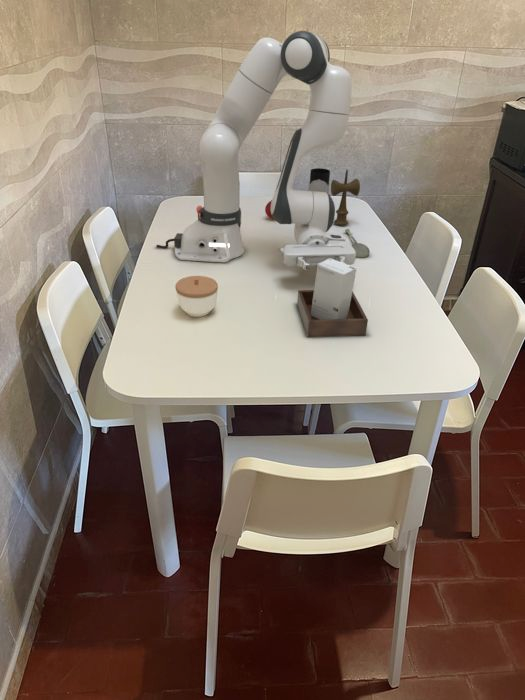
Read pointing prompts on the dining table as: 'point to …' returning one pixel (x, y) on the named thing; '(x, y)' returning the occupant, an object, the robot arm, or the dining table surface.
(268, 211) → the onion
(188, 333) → the dining table surface
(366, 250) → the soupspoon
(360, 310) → the crate
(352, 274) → the cosmetic box
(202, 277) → the trinket box
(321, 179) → the glass holder
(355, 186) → the kendama
